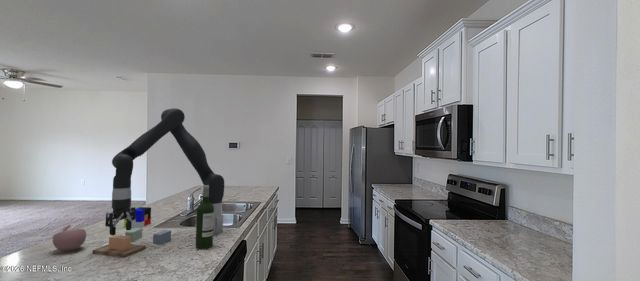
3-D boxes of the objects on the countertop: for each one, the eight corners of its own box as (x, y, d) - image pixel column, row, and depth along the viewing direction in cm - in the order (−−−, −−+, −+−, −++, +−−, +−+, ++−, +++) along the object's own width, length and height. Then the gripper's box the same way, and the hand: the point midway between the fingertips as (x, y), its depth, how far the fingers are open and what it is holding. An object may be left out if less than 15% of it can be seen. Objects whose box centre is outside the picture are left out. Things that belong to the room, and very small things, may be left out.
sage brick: (134, 237, 165) (134, 227, 165) (142, 237, 165) (142, 228, 165) (125, 242, 157) (125, 232, 157) (132, 242, 157) (133, 232, 157)
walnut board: (145, 248, 148) (145, 245, 148) (124, 257, 136) (124, 254, 136) (115, 245, 152) (115, 242, 152) (92, 253, 140) (92, 250, 140)
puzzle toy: (140, 228, 183) (141, 210, 183) (124, 227, 183) (124, 210, 183) (150, 223, 193) (151, 207, 193) (134, 223, 193) (135, 206, 193)
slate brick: (164, 239, 163) (164, 229, 163) (170, 240, 162) (171, 230, 162) (152, 244, 155) (153, 234, 155) (159, 245, 154) (160, 234, 154)
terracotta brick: (130, 247, 145) (130, 236, 145) (123, 250, 141) (123, 239, 141) (116, 245, 147) (116, 234, 147) (108, 248, 143) (109, 237, 143)
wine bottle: (207, 250, 149) (209, 187, 149) (192, 248, 150) (194, 186, 151) (215, 244, 156) (217, 185, 157) (201, 243, 158) (203, 184, 158)
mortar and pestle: (81, 244, 151) (82, 220, 151) (89, 250, 144) (90, 225, 144) (49, 250, 142) (50, 225, 142) (55, 257, 134) (56, 230, 134)
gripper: (115, 200, 136) (114, 237, 136) (140, 195, 150) (139, 229, 150) (101, 199, 138) (100, 236, 138) (127, 194, 152) (126, 227, 152)
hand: (120, 232), depth 144 cm, fingers open, 8 cm apart
